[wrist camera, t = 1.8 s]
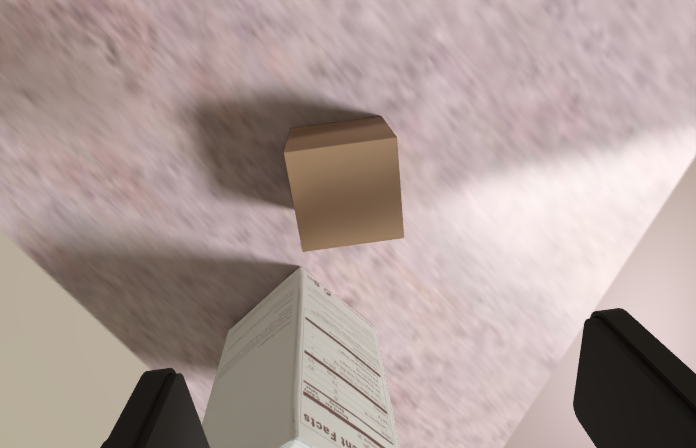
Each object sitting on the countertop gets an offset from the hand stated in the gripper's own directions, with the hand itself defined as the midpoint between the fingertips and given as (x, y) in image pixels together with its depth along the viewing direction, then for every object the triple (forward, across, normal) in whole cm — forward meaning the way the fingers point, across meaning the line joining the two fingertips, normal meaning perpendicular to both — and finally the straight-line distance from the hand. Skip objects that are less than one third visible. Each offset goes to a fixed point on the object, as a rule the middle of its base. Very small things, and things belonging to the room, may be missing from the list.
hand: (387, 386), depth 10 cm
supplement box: (+16, +4, +10) cm, 20 cm away
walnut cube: (+16, 0, -1) cm, 16 cm away
